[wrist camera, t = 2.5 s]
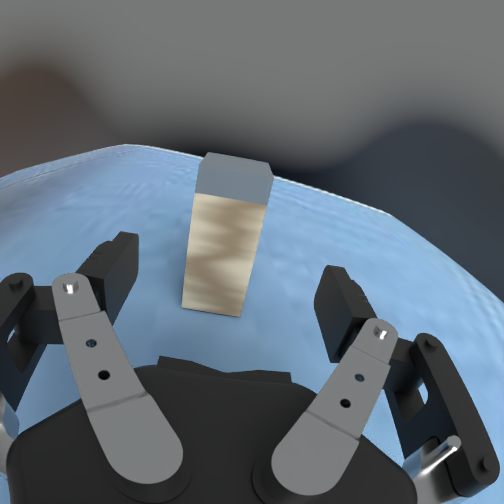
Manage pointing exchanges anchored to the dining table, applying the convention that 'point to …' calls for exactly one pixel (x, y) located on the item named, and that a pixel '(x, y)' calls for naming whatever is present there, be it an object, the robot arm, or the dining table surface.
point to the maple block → (224, 232)
